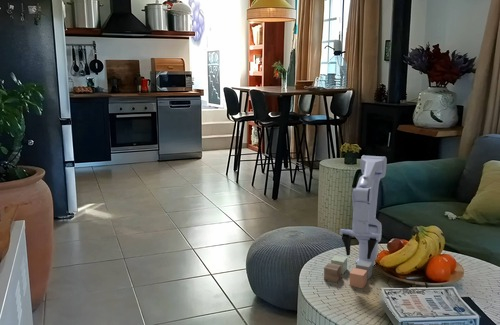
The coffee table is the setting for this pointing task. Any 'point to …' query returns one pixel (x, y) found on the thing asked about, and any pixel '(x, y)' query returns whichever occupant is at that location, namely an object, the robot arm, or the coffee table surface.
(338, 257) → the sage block
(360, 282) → the terracotta block
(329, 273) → the walnut block
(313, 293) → the coffee table surface
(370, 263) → the slate block
